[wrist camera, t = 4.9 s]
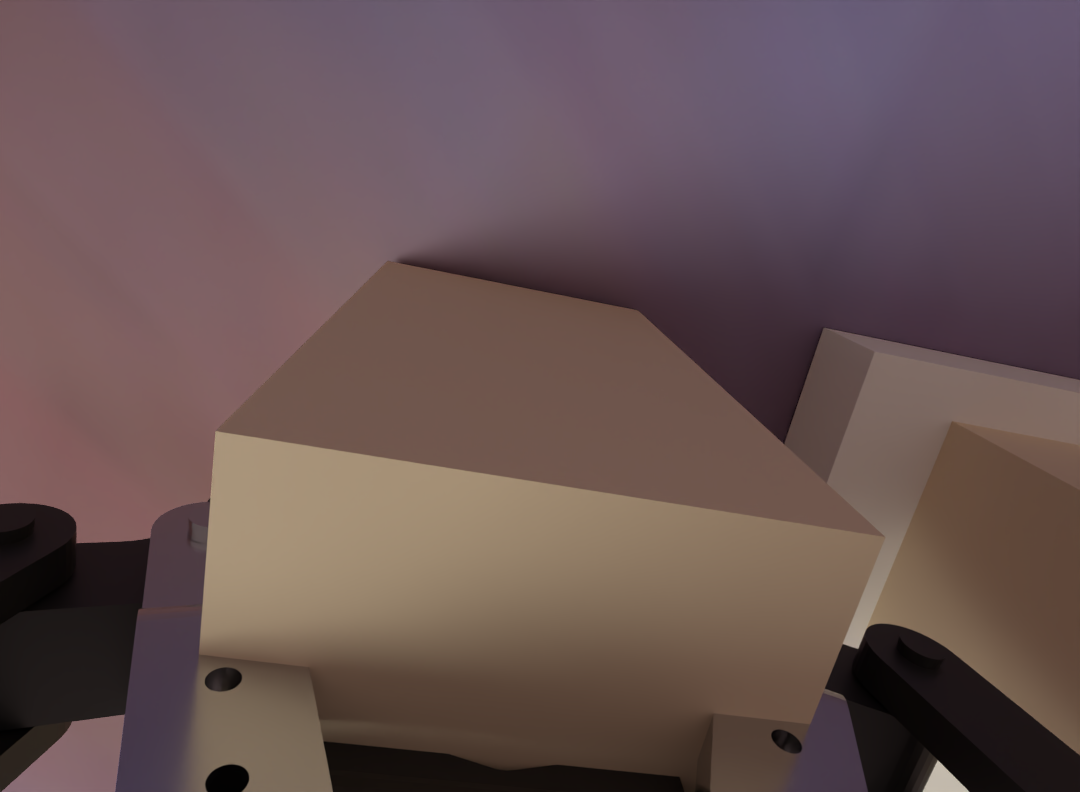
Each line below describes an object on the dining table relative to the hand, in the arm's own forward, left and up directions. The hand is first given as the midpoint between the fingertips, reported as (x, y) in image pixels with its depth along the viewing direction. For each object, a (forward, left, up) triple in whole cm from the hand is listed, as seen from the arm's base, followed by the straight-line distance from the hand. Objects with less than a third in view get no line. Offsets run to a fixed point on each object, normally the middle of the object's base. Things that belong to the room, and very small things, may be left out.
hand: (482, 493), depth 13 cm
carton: (0, 0, -2) cm, 2 cm away
